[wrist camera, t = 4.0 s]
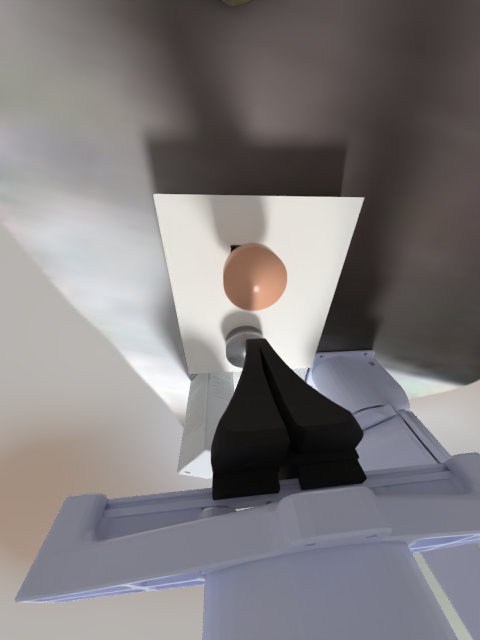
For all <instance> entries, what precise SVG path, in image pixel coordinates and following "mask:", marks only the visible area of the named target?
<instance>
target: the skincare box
mask: <svg viewBox="0 0 480 640" xmlns="http://www.w3.org/2000/svg"><path fill="white" fill-rule="evenodd" d="M233 394H234V385H233V372H220V373H202V374H198V375H197V376H196V377H195V378H194V379H193V381H192V382H191V384H190V391H189V397H188V404H187V411H186V417H185V424H184V431H183V437H182V443H181V450H180V456H179V464H178V470H177V473H178V474H183V475H189V476H196V477H201V478H211V477H213V472H212V467H211V445H212V441H213V437H214V434H215V431H216V428H217V425H218V422H219V420H220V418H221V417H222V415H223V413H224V412H225V410H226V408H227V406H228V404H229V402H230V400H231V398H232V396H233Z"/></svg>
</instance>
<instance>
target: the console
mask: <svg viewBox="0 0 480 640" xmlns="http://www.w3.org/2000/svg"><path fill="white" fill-rule="evenodd" d="M153 196H154V201H155V206H156V211H157V216H158V221H159V226H160V231H161V236H162V241H163V247H164V252H165V257H166V262H167V267H168V272H169V277H170V282H171V287H172V292H173V297H174V302H175V307H176V312H177V318H178V323H179V328H180V333H181V338H182V343H183V348H184V353H185V358H186V363H187V368H188V373H189V374H202V373H220V372H239V371H242V370H243V368H239V367H236V366H234V365H232V364H231V363H230V362H229V361H228V360H227V358H226V337H227V335H228V334H229V333H230V332H231V331H232V330H233V329H235V328H237V327H240V326H252V327H255V328H257V329H258V330H260V331H261V333H262V334H263V337H264V338H265V339H267V341H268V342H269V344H270V345H271V346H272V348H273V349H274V350H275V352H276V353H277V354H278V355H279V356H280V358H281V359H282V360H283V361H284V362H285V363H286V364H287V365H288V366H289V367H290V368H291V369H294V368H311V366H312V363H313V360H314V356H315V353H316V350H317V347H318V344H319V341H320V337H321V334H322V331H323V328H324V325H325V321H326V318H327V315H328V312H329V309H330V305H331V302H332V299H333V296H334V293H335V289H336V286H337V283H338V280H339V277H340V274H341V270H342V267H343V264H344V261H345V258H346V254H347V251H348V248H349V245H350V242H351V238H352V235H353V232H354V229H355V226H356V223H357V219H358V216H359V213H360V210H361V207H362V203H363V200H364V198H363V197H305V196H247V195H190V194H153ZM248 243H259V244H262V245H265V246H267V247H269V248H270V249H271V250H272V251H273V252H274V253H275V254H276V255H277V256H278V257H279V258H280V259H281V261H282V262H283V263H284V265H285V268H286V271H287V285H286V288H285V291H284V293H283V294H282V296H281V297H280V298H279V300H278V301H277V302H276V303H274V304H273V305H271V306H270V307H268V308H265V309H262V310H258V311H248V310H244V309H241V308H239V307H237V306H235V305H234V304H233V303H232V302H231V301H230V300H229V299H228V297H227V296H226V294H225V291H224V286H223V268H224V264H225V261H226V259H227V257H228V256H229V255H230V253H231V245H244V244H248Z"/></svg>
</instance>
